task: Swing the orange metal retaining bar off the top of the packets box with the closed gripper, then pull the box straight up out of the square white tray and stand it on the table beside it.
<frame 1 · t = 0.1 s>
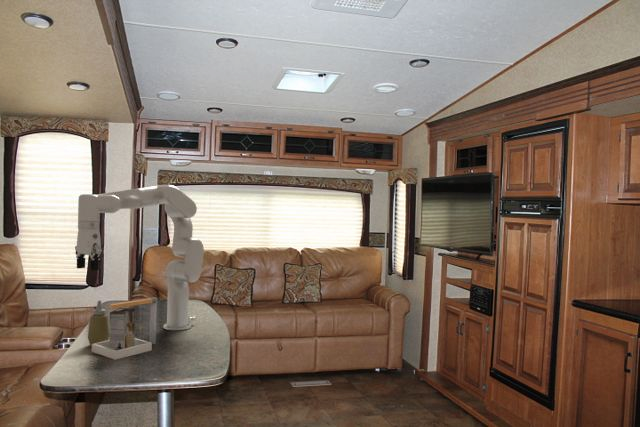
hand: (87, 269, 193), 31 cm above the table, tool pointing down, fingers open, 9 cm apart
squeeze bottle: (98, 345, 198), on the table
retaining bar: (135, 302, 195), point 18 cm above the table, hinge at 0.0°
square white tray: (121, 351, 191), on the table
coffee box: (121, 351, 191), resting in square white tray
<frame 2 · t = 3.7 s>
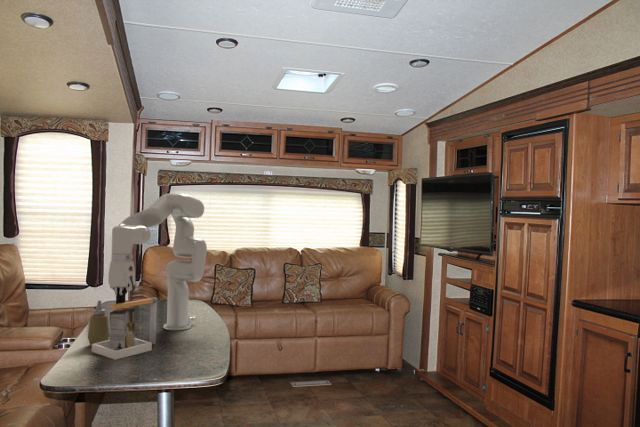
hand: (120, 304, 192), 18 cm above the table, tool pointing down, fingers closed
retaining bar: (135, 303, 195), point 18 cm above the table, hinge at 3.3°, touching gripper
everything else where it was.
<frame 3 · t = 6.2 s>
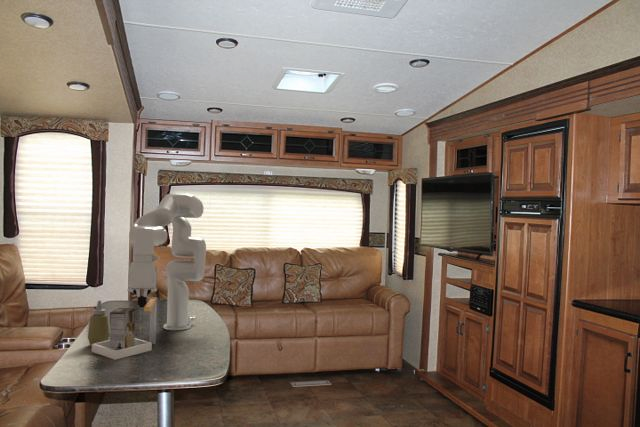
hand: (142, 306, 188), 18 cm above the table, tool pointing down, fingers closed
retaining bar: (150, 304, 194), point 18 cm above the table, hinge at 46.2°, touching gripper
everything else where it was.
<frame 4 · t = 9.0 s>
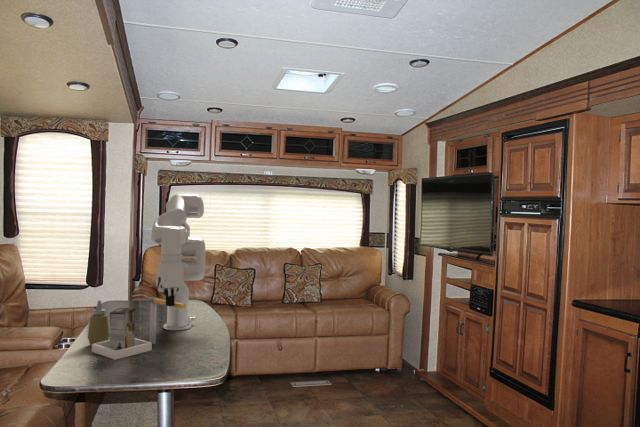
hand: (170, 305, 192), 18 cm above the table, tool pointing down, fingers closed
retaining bar: (166, 302, 197), point 18 cm above the table, hinge at 89.2°, touching gripper
everything else where it was.
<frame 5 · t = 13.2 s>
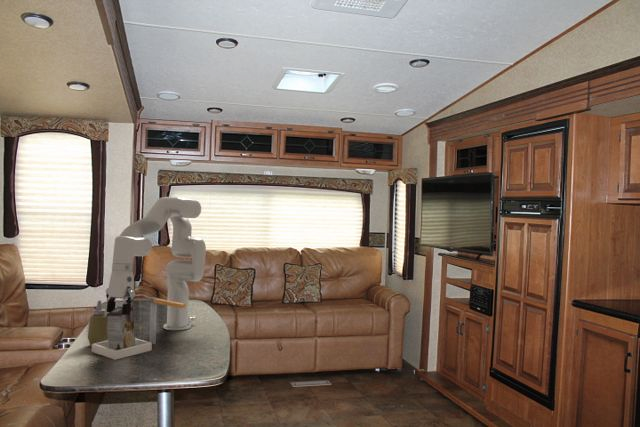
hand: (118, 313, 188), 15 cm above the table, tool pointing down, fingers open, 9 cm apart
retaining bar: (166, 302, 197), point 18 cm above the table, hinge at 89.4°
coffee box: (122, 350, 191), resting in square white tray, touching gripper
everything else where it was.
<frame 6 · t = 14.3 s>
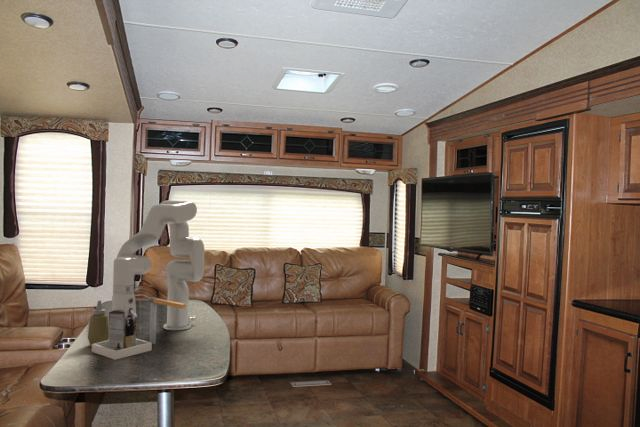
hand: (122, 333, 191), 7 cm above the table, tool pointing down, fingers closed on coffee box, 8 cm apart
coffee box: (122, 351, 191), resting in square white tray, touching gripper
everything else where it was.
when the fingers open (8 cm above the table, at t = 25.8 s): coffee box drops 1 cm, on the table.
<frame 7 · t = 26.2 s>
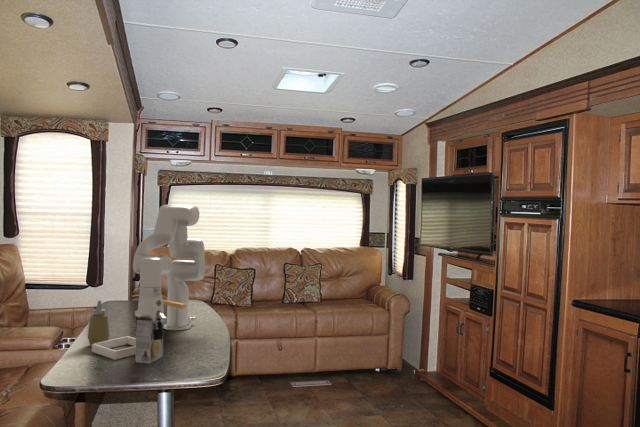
hand: (149, 337, 181), 8 cm above the table, tool pointing down, fingers open, 9 cm apart
coffee box: (149, 360, 182), on the table
everything else where it was.
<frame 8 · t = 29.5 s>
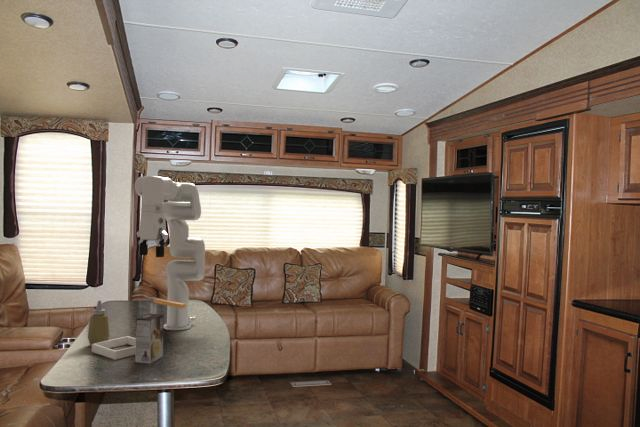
hand: (151, 256, 181), 38 cm above the table, tool pointing down, fingers open, 9 cm apart
nothing on the table moved.
at the end: retaining bar at +89° (first picture: +0°); coffee box inside the target area (0.4 cm from its centre), on the table; coffee box tilted 0° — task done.
